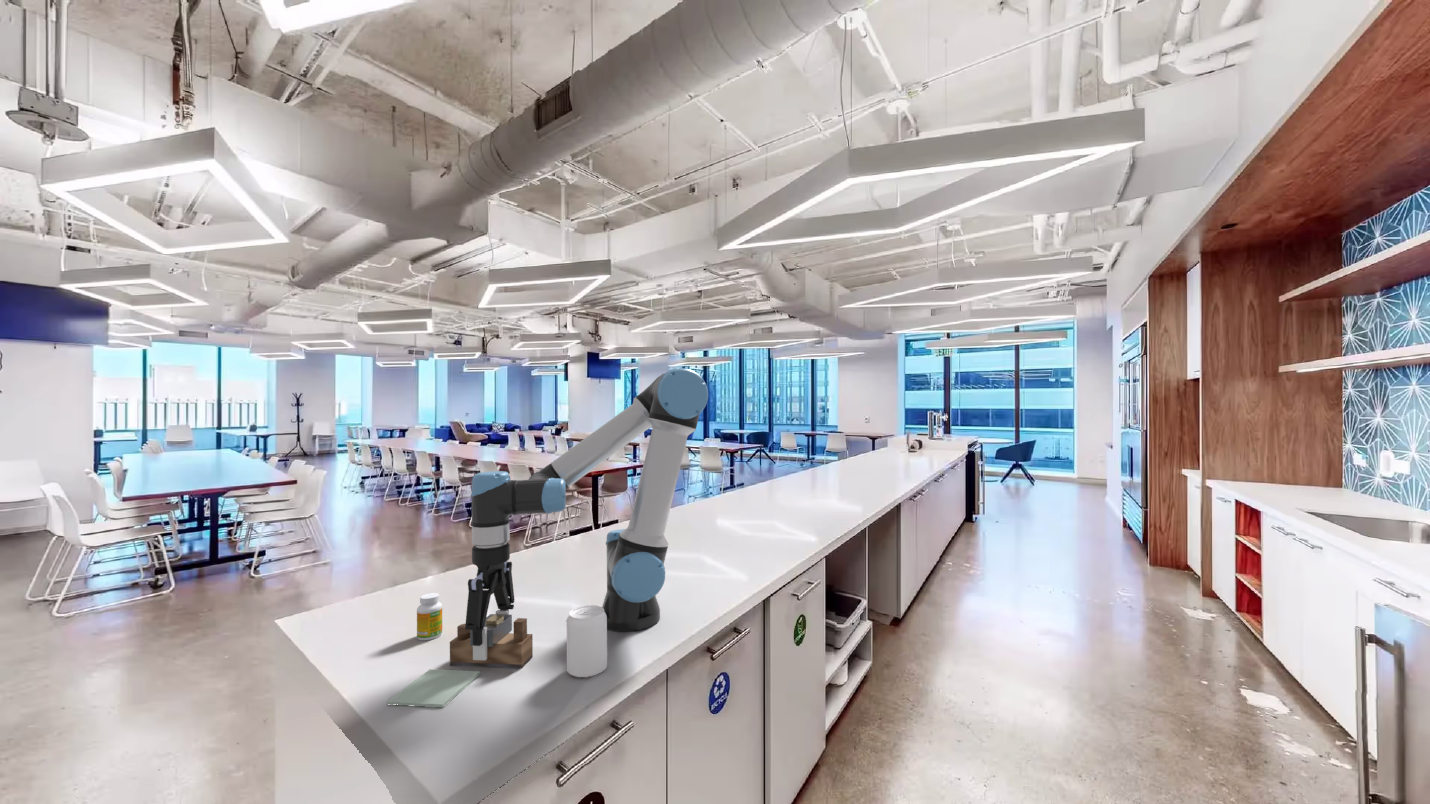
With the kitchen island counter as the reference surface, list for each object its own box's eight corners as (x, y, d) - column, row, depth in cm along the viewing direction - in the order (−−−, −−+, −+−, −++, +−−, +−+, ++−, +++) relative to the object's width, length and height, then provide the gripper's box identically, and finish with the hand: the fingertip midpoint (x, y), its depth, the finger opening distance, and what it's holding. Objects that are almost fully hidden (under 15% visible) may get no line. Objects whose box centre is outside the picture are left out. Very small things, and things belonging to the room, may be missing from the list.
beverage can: (586, 684, 102) (586, 622, 102) (558, 673, 106) (558, 614, 106) (615, 666, 109) (614, 608, 109) (587, 657, 113) (587, 601, 113)
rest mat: (479, 674, 106) (479, 671, 106) (443, 707, 94) (443, 704, 94) (429, 672, 107) (429, 669, 107) (386, 705, 95) (386, 701, 95)
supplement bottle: (431, 642, 122) (431, 600, 122) (411, 640, 123) (411, 599, 123) (447, 632, 127) (447, 592, 127) (428, 630, 128) (428, 591, 128)
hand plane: (532, 657, 113) (532, 615, 113) (521, 668, 108) (521, 625, 108) (463, 654, 115) (463, 613, 115) (449, 665, 110) (449, 623, 110)
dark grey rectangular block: (511, 630, 115) (511, 611, 115) (492, 646, 107) (492, 625, 107) (490, 629, 116) (490, 610, 116) (470, 646, 108) (469, 625, 108)
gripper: (499, 532, 123) (500, 628, 122) (444, 557, 102) (444, 673, 101) (530, 532, 122) (530, 629, 122) (480, 557, 101) (481, 675, 101)
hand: (491, 649), depth 112 cm, fingers open, 8 cm apart
